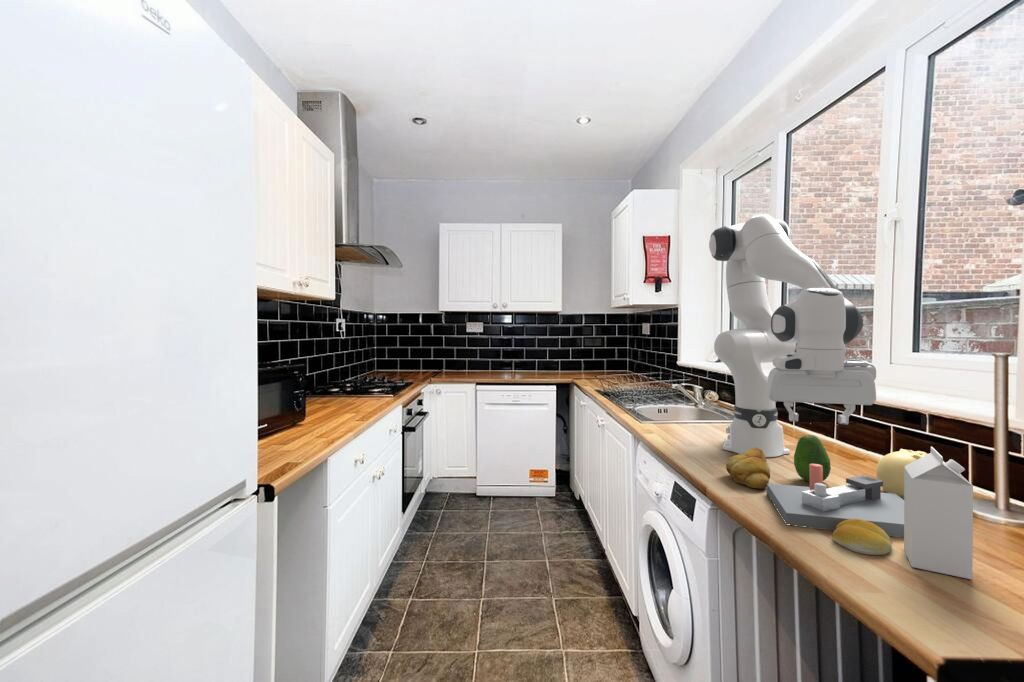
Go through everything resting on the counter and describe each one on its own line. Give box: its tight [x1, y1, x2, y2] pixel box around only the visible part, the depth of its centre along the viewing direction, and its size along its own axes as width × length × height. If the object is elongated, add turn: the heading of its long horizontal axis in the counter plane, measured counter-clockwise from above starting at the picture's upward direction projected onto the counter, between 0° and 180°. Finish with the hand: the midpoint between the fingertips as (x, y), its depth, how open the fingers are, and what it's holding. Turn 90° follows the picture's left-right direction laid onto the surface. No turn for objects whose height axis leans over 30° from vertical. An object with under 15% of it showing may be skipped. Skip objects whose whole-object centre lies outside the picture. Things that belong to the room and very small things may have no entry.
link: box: [802, 483, 865, 512], centre depth 92 cm, size 13×5×2 cm, turn 108°
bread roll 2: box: [832, 519, 893, 556], centre depth 80 cm, size 8×9×4 cm
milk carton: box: [903, 446, 974, 580], centre depth 73 cm, size 7×7×19 cm
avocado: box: [793, 434, 832, 482], centre depth 111 cm, size 8×8×12 cm
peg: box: [809, 464, 824, 490], centre depth 97 cm, size 2×2×9 cm
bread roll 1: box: [725, 448, 771, 490], centre depth 112 cm, size 13×10×8 cm
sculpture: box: [875, 448, 928, 499], centre depth 101 cm, size 12×12×11 cm
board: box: [766, 475, 904, 538], centre depth 92 cm, size 17×25×7 cm
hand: (817, 422), depth 98 cm, fingers open, 8 cm apart
